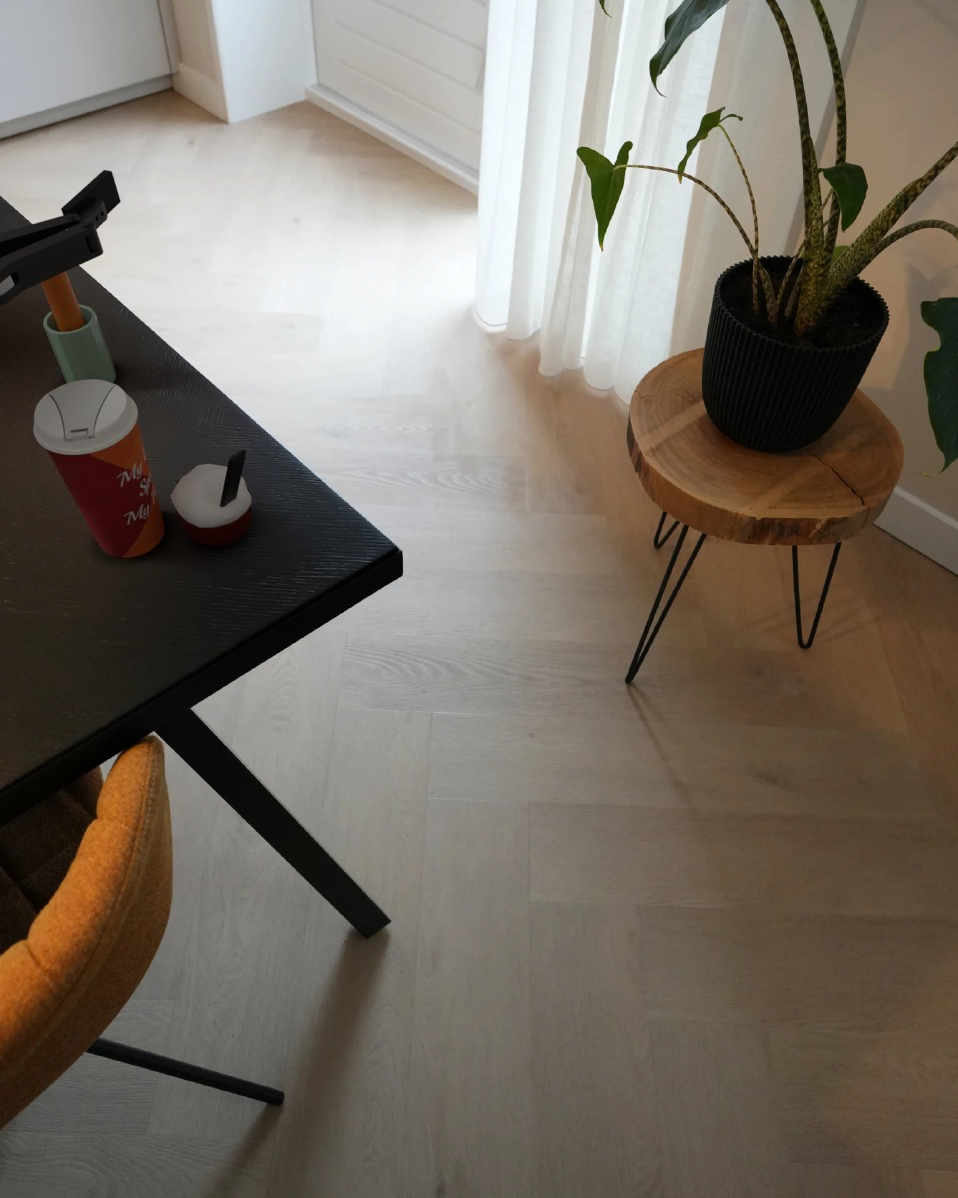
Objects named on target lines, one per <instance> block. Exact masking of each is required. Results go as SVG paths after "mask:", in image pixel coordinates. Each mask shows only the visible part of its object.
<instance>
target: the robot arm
mask: <svg viewBox="0 0 958 1198" xmlns="http://www.w3.org/2000/svg"><path fill="white" fill-rule="evenodd" d="M121 202H122V201H121V197H120V194H119V191H118V186H117V184H116V181H115V177H114V174H113V171H112V170H108V169H103V170H102V171H100V173H98V174H97V175H96V176H95V177H94V178H93V179H92V180H90V181H89V183H87V184H86V185H85V186H84V187H82V189H81V190H79V192H77V193H76V194H75V195H74V196H73V197H72V198H71V199H70V200H69V201H68V202H66V203H65V204H64V205H63V206H62V207H61V208H60V210H61V213H62V215H60V216H56V217H52V218H50V219H46V220H42V221H39V222H35V223H32V224H28V225H24V226H21V227H17V228H14V229H10V230H6V231H3V232H0V306H3V305H7V304H8V303H9V302H11V301H13V299H15V298H16V297H17V296H18V295H20V294H21V293H22V292H23V291H26V290H28V289H30V288H32V287H35V286H37V285H39V284H41V282H43V281H46V280H48V279H50V278H52V277H54V276H57V275H59V274H61V273H63V272H65V271H66V272H67V271H69V270H71V269H74V268H76V267H78V266H80V265H83V264H85V263H87V262H90V261H91V260H93V259H96V258H98V257H100V256H102V255H103V254H104V248H103V245H102V242H101V238H100V237H99V233H98V229H99V228H100V227H101V226H102V225H104V223H105V222H106V221H107V220H108V217H109V214H110V213H111V212H112V211H113V210H114V209H115V208H116V207H117V206H119V204H120V203H121Z"/></svg>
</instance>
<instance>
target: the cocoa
mask: <svg viewBox="0 0 958 1198" xmlns="http://www.w3.org/2000/svg"><path fill="white" fill-rule="evenodd" d="M247 452H248V451H247V449H243V448H242V449H239V450H238V451H237V452H235V453H233V454H232V455H231V456H229V457H228V462H227V466H226V465H219V464H212V463H205V464H197V465H196V466H194V468H193V469H191V470H190V471H189V472H188V473H187V474H185V475H183V476H182V477H181V478H180V479H178V480H177V481H176V485H175V487H174V488H173V490H172V492H171V493H170V495H169V497H170V499H171V503H172V505H173V507H174V508H175V512H176V513H175V514H176V516H177V519H178V521H179V523H180V524H181V526H182V527H183V529H184V530H185V531H186V533H187V534H188V535H189V537H191V539H192V540H193V541H196V542H198V543H200V544H202V545H205V546H206V547H219V548H220V547H225V546H228V545H232V544H234V543H235V542H237V541H238V540H239V539H240V538H242V537H243V536H244V535H246V533H247V531H248V529H249V527H250V525H251V522H252V518H253V505H252V500H253V499H252V494H251V490H250V489H249V487H248V486H247V485H246V481H245V479H244V477H243V476H242V474H243V470H244V465H245V461H246V456H247Z"/></svg>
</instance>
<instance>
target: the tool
mask: <svg viewBox="0 0 958 1198" xmlns="http://www.w3.org/2000/svg"><path fill="white" fill-rule="evenodd" d="M40 284H41V287H42V289H43V293H44V295H45V297H46V299H47V302H48V304H49V307H50V309H51V311H52V312H53V315H54V317H55V320H56V322H57V325H58V328H59V330H60V332H70V331H74V330H77V329H80V328H82V327H83V326H85V325H86V324H85V322H84V319H83V316H82V313H81V311H80V308H79V305H78V304H79V302H78V300H77V297H76V295H75V292H74V289H73V287H72V284H71V280H70V278H69V276H68V272H67V271H65V272H63V273H61V274H59V275H57V276H54V277H52V278H50V279H48V280H46V281H43V282H41V283H40Z"/></svg>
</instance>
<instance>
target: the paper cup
mask: <svg viewBox="0 0 958 1198" xmlns="http://www.w3.org/2000/svg"><path fill="white" fill-rule="evenodd" d="M138 416H139V409H138V407H137V404H136V402H135V400H134V399H133V398H132V397H130V396H129V395H128V394H127V393H126V392H125V390H124V389H123V388H122V387H120V386H119V385H118V384H116V383H114V382H113V383H110V382H107V381H103V380H97V379H88V380H80V381H74V382H70V383H67V382H66V383H64V384H62V385H59V386H58V387H56V388H54V389H52V390H51V391H49V392H48V393H46V394H45V395H44V396H43V397H42V398H41V399H40V400H39V401H38V403H37V404H36V406H35V409H34V414H33V420H34V421H33V427H32V431H33V435H34V439H35V440H36V442H37V443H38V444H39V445H40V446H41V447H42V448H44V449H46V451H47V453H48V455H49V457H50V458H51V460H52V462H53V464H54V466H55V467H56V470H57V471H58V474H59V475H60V477H61V479H62V480H63V483H64V484H65V486H66V488H67V490H68V492H69V494H70V496H71V497H72V499H73V501H74V503H75V504H76V506H77V508H78V510H79V511H80V513H81V515H82V517H83V519H84V521H85V522H86V524H87V526H88V529H90V531H91V534H92V535H93V537H94V538H95V541H96V542H97V543H98V545H99V547H100V548H101V549H102V551H104V552H105V553H106V554H108V555H110V556H111V557H114V558H115V557H116V558H122V559H129V558H135V557H139V556H142V555H145V554H147V553H148V552H150V551H152V550H153V549H154V548H156V546H158V545H159V544H160V542H161V541H162V539H163V537H164V534H165V523H164V518H163V514H162V509H161V506H160V502H159V497H158V495H157V491H156V486H155V483H154V479H153V475H152V472H151V469H150V464H149V461H148V458H147V454H146V450H145V447H144V443H143V439H142V435H141V433H140V429H139V426H138V422H137V421H138Z"/></svg>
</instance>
